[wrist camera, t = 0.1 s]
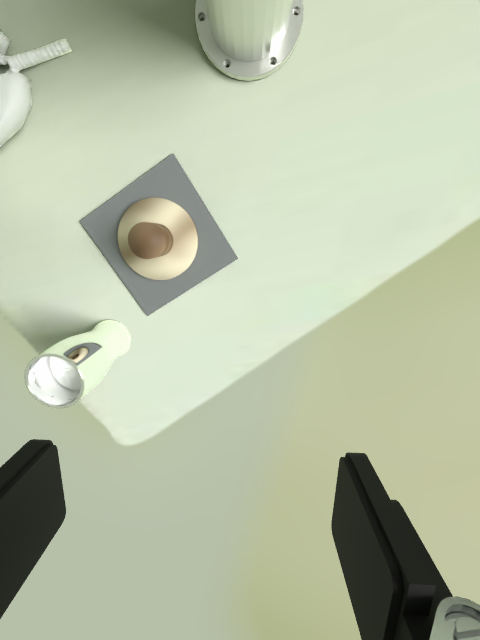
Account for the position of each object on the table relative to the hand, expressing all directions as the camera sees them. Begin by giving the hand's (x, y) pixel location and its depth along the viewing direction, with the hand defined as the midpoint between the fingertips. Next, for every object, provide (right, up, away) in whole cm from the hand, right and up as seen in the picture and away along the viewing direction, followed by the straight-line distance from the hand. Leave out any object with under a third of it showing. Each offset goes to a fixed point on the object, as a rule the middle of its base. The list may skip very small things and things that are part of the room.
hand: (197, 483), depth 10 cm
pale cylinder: (-18, +3, +39) cm, 43 cm away
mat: (-10, +17, +34) cm, 39 cm away
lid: (-10, +17, +34) cm, 39 cm away
